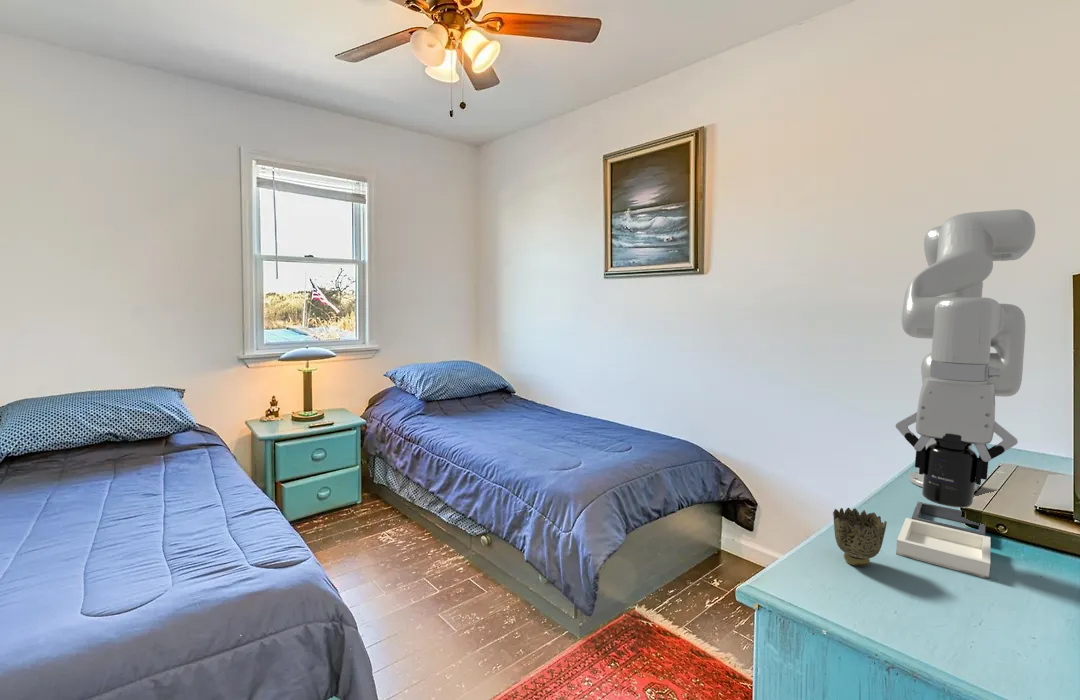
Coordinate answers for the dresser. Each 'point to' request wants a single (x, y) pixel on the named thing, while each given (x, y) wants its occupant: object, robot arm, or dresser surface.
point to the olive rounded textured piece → (858, 535)
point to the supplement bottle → (950, 472)
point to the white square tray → (945, 547)
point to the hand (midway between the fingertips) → (949, 476)
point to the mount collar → (944, 516)
